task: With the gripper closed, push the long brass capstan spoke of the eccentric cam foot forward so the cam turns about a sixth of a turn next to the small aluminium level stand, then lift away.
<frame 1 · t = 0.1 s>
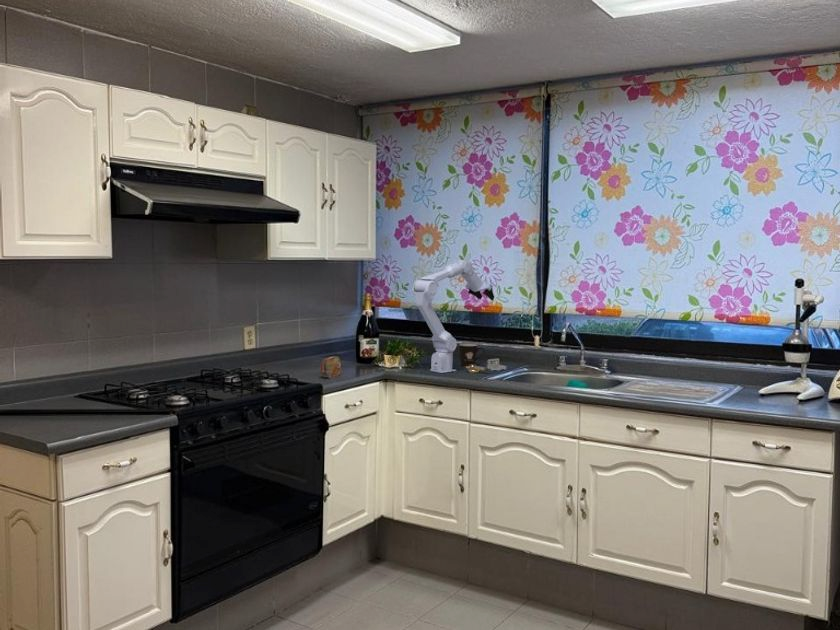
hand: (487, 298, 356), 32 cm above the worktop, tool tilted 50°, fingers open, 7 cm apart
cam: (478, 368, 337), point 2 cm above the worktop, hinge at 0.0°
coffee mug: (470, 366, 356), on the worktop
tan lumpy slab: (331, 377, 320), on the worktop
stand: (496, 369, 348), on the worktop
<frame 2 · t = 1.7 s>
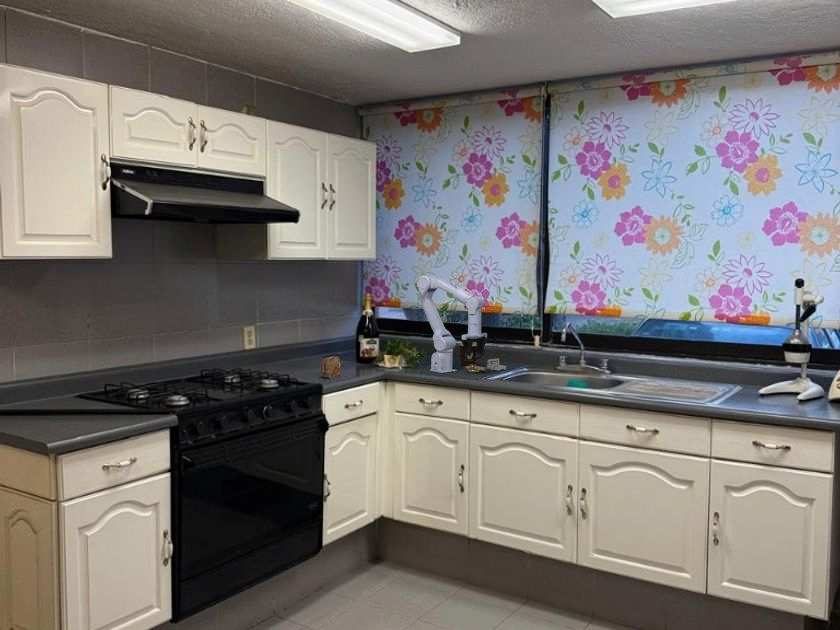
hand: (474, 355, 331), 9 cm above the worktop, tool pointing down, fingers open, 7 cm apart
nothing on the worktop moved.
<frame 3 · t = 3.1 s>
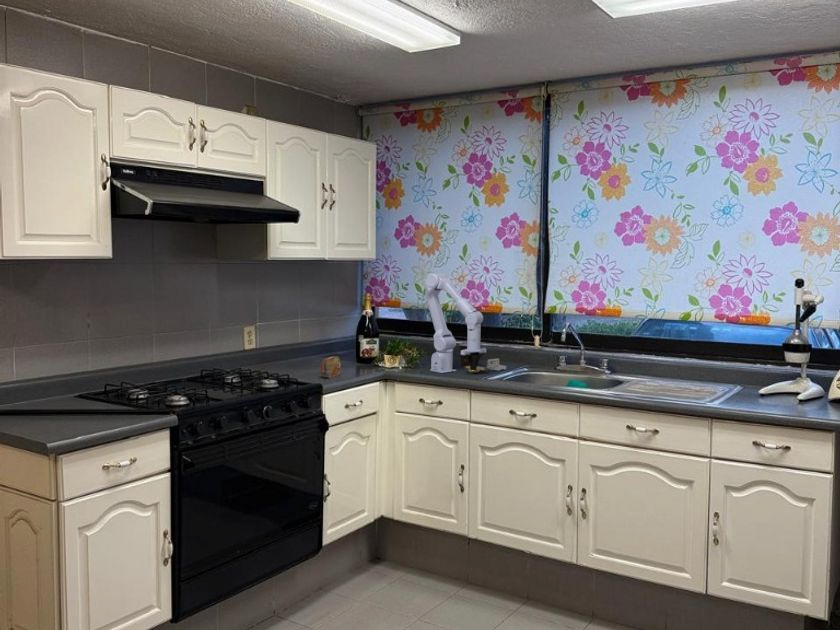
hand: (473, 370, 331), 2 cm above the worktop, tool pointing down, fingers closed
nothing on the worktop moved.
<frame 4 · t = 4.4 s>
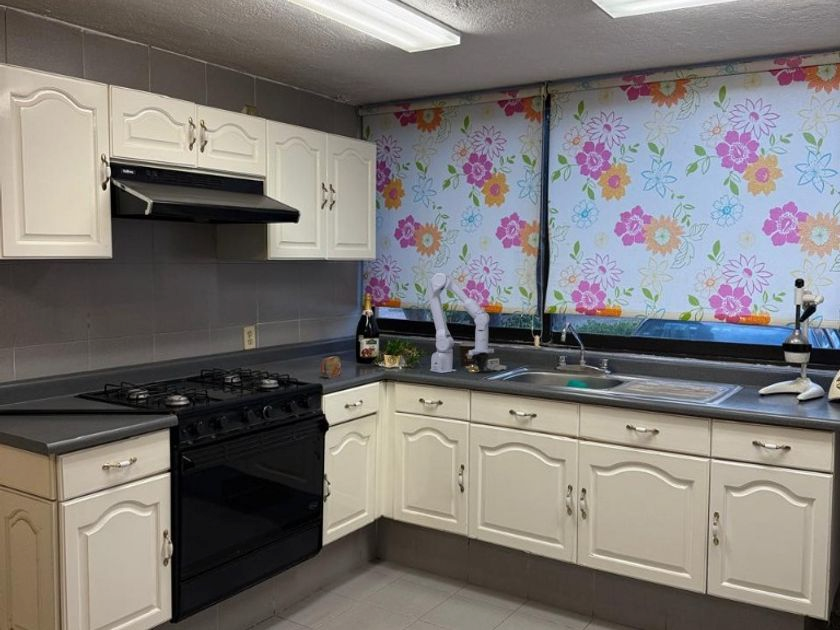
hand: (480, 370, 335), 1 cm above the worktop, tool pointing down, fingers closed, pressing on cam
cam: (478, 368, 337), point 2 cm above the worktop, hinge at 2.0°, touching gripper
everything else where it was.
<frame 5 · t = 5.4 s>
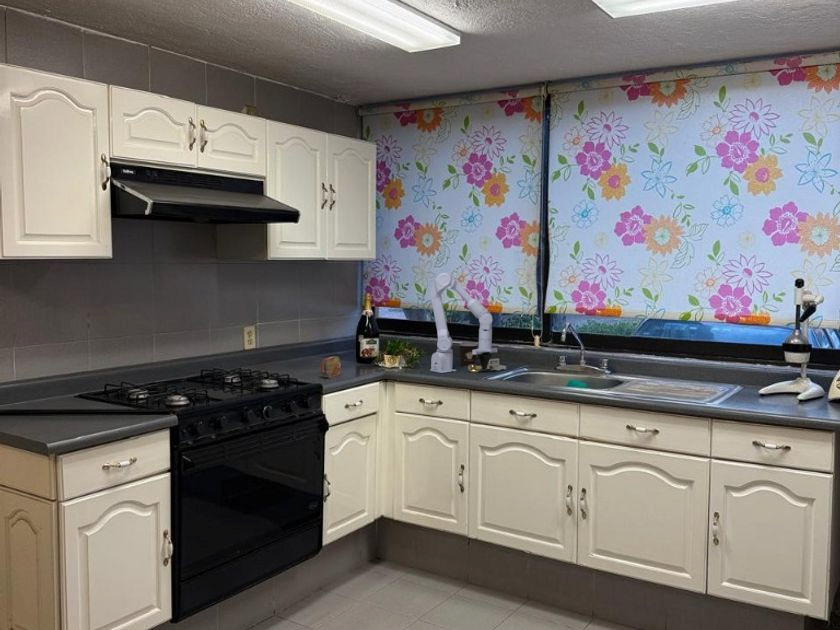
hand: (484, 369, 338), 1 cm above the worktop, tool pointing down, fingers closed, pressing on cam
cam: (480, 368, 339), point 2 cm above the worktop, hinge at 42.6°, touching gripper
everything else where it was.
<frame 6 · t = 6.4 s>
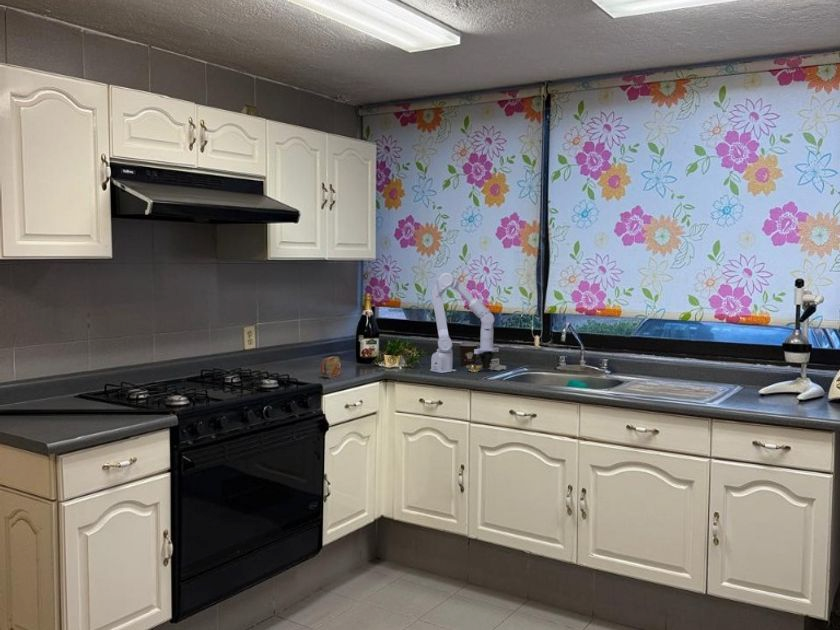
hand: (486, 368, 340), 1 cm above the worktop, tool pointing down, fingers closed
cam: (479, 367, 341), point 2 cm above the worktop, hinge at 69.2°
everything else where it was.
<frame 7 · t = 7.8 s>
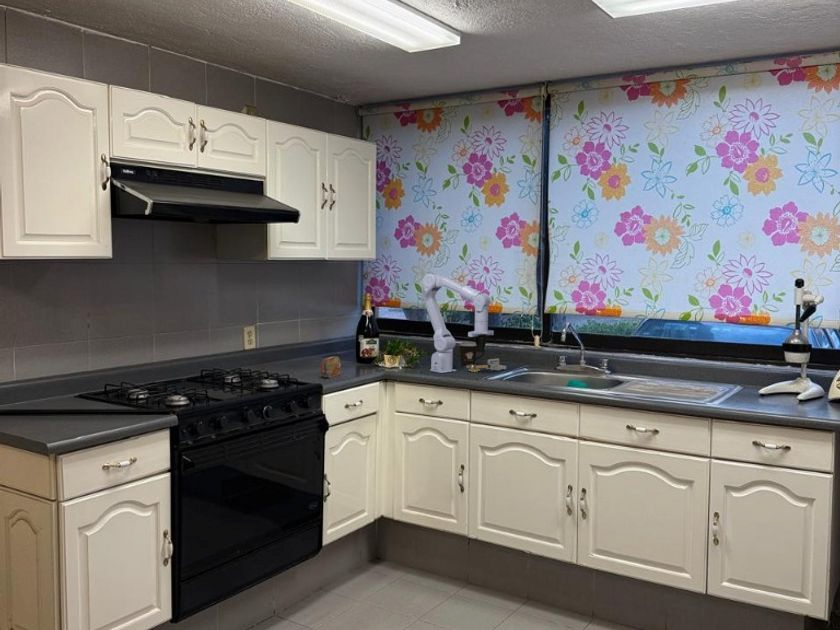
hand: (480, 352, 330), 10 cm above the worktop, tool pointing down, fingers closed
nothing on the worktop moved.
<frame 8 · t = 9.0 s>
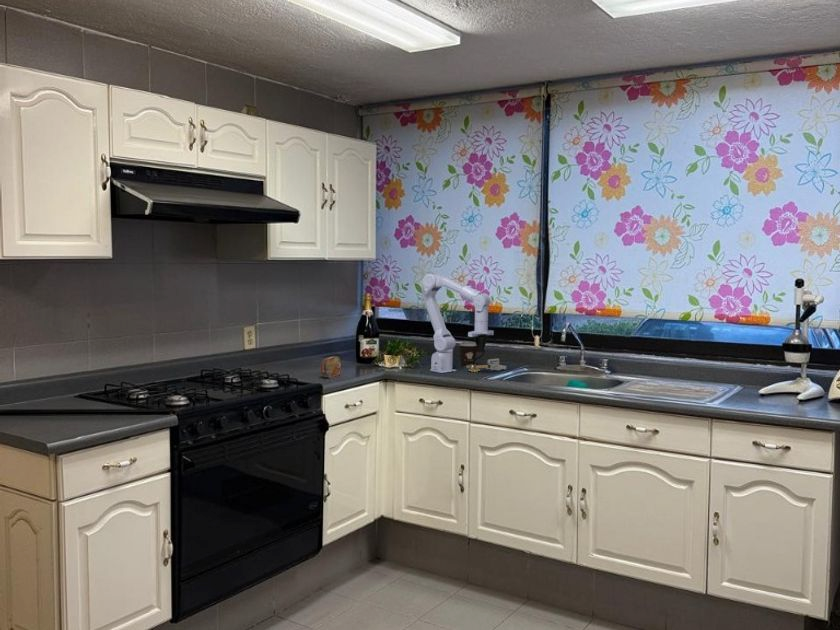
hand: (480, 352, 330), 10 cm above the worktop, tool pointing down, fingers closed
nothing on the worktop moved.
at the end: cam at +69° (first picture: +0°) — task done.
